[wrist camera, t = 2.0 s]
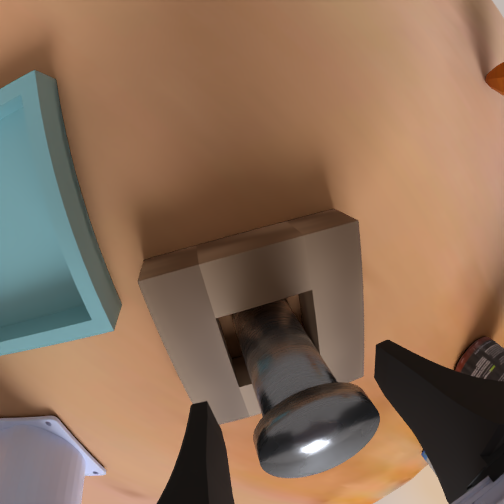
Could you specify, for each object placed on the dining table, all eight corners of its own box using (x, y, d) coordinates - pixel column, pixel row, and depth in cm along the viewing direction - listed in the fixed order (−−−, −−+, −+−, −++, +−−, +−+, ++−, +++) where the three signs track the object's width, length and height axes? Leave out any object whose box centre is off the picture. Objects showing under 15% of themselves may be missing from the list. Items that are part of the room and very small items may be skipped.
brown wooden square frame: (201, 399, 18) (205, 427, 16) (143, 260, 15) (137, 281, 12) (346, 353, 20) (363, 376, 17) (334, 208, 16) (358, 220, 14)
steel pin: (232, 357, 18) (271, 488, 10) (212, 294, 16) (246, 433, 8) (303, 335, 18) (374, 449, 10) (293, 271, 17) (384, 382, 8)
